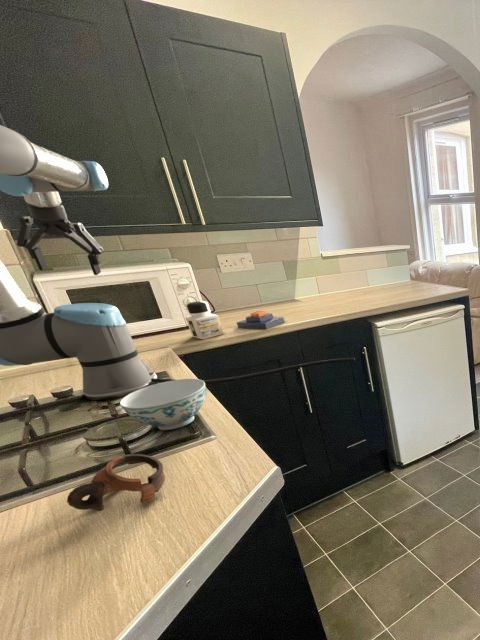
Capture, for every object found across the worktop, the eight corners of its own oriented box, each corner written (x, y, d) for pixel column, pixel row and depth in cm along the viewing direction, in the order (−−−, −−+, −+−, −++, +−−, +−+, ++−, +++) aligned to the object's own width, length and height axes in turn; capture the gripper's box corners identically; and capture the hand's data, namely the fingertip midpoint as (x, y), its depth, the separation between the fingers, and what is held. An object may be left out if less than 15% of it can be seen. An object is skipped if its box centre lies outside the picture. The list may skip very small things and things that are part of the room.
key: (267, 315, 173) (265, 311, 172) (259, 317, 169) (258, 313, 168) (259, 315, 173) (257, 310, 173) (251, 317, 170) (250, 313, 169)
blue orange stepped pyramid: (284, 322, 175) (282, 312, 174) (266, 328, 167) (263, 319, 165) (257, 321, 179) (254, 311, 177) (238, 327, 170) (235, 318, 168)
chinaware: (228, 416, 97) (217, 386, 94) (151, 447, 86) (136, 413, 83) (197, 402, 105) (187, 374, 102) (123, 429, 93) (108, 398, 90)
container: (202, 339, 156) (190, 305, 151) (192, 337, 160) (179, 303, 154) (224, 333, 162) (213, 300, 157) (213, 331, 166) (202, 299, 161)
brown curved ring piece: (132, 480, 76) (143, 443, 74) (171, 509, 75) (183, 472, 73) (46, 510, 64) (56, 467, 62) (90, 544, 63) (102, 501, 61)
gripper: (103, 207, 132) (123, 270, 144) (-3, 193, 124) (27, 262, 136) (91, 213, 126) (113, 279, 138) (-22, 199, 118) (12, 271, 130)
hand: (71, 271), depth 137 cm, fingers open, 13 cm apart
